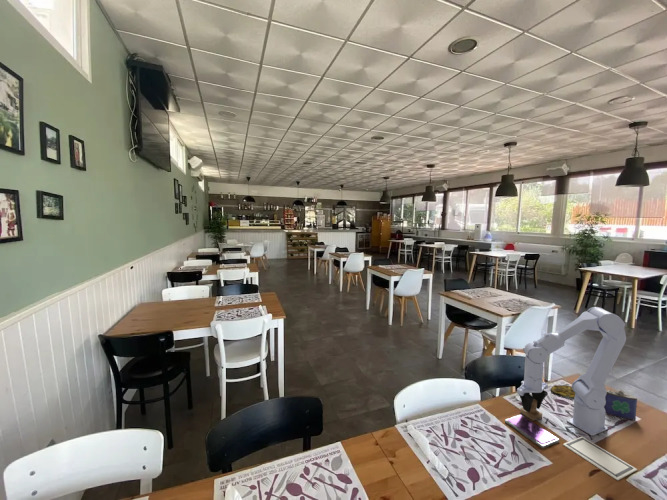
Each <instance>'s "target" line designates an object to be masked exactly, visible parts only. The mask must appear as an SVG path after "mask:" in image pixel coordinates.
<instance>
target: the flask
mask: <svg viewBox="0 0 667 500" xmlns="http://www.w3.org/2000/svg"><path fill="white" fill-rule="evenodd" d="M606 392H607V394H606V396H605V400H606V404H605V406H604V408H605V411H606V414H605V415H607V416H610V417H615V418H618V419H622V418H623V420H627V421H631V422H632V421H634V422H635V421H636V419H637V406H638V398H637V397H636V396H635V395H633V394H632V395H631V394H626V393H625V391H624V390H623V389H619V390H618V391H615V390H613V391H612V389H609V390H607V389H606Z"/></svg>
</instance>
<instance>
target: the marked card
mask: <svg viewBox="0 0 667 500" xmlns="http://www.w3.org/2000/svg"><path fill="white" fill-rule="evenodd" d="M562 445H563V446H564V447H565V448H567V449H568V450H570V451H571V452H573V453H574V454H576V455H577V456H579V457H580V458H582V459H584V460H585V461H587V462H589V463H590V464H592V465H594V466H595V468H598V469H599V470H600V471H602V472H604V473H605V474H606V475H609V476H610V477H611V478H613V479H615V480H616V481H620V480H621V479H624V478H625V477H627V476H630V475H631V474H632V473H633V474H634V473H635V472H636V471H638V468H636V467H635V466H633V465H631V464H629V463H628V462H626V461H624V460H622V459H621V458H620V457H618V456H616V455H614V454H613V453H611V452H609V451H607V450H605V449H604V448H602V447H600V446H599V445H597V444H596V443H594V442H592V441H591V440H589V439H587V438H585V437H584V436H579V437H576V438H574V439H572V440H568V441H567V442H564V443H563V444H562Z"/></svg>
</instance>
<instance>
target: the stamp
mask: <svg viewBox="0 0 667 500" xmlns="http://www.w3.org/2000/svg"><path fill="white" fill-rule="evenodd" d="M519 409H520V410H519V413H520V415H522V416H524V417H525V418H527V419H529V420H530V421H532V422H535V421H537V420H540V418H541V419H542V418H543V413H542V412H541V411H540V410H538V409H537V400H535V399H534V400H533V402H532V405H531V410H530V412H527V411H526V410H524V409H523V407H521V408H519Z"/></svg>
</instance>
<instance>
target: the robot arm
mask: <svg viewBox="0 0 667 500" xmlns="http://www.w3.org/2000/svg"><path fill="white" fill-rule="evenodd" d="M625 327H626V323H625V321H624V320H623V319H622V318H621V317H620V316H619V315H617V314H615V313H612V312H610V311H608V310H605V309H604V308H602V307H600V306H599V307H598V306H593V307H590V308H588V309H587V311H586V310H585V311H584V312H583V311H582V313H581V314H580V315H579V316H578V317H577V318H576V319H574V320H573V321H571V322H569V323H568V324H567V325H566V326H564V327H563V328H561V329H560V330H558V331H557V332H545V333H543V336H542V337H540V338H539V339H537V340H534V341H532V342H529V343H526V345H525V346H524V347H523V350H522V351H523V353H524V355H525V361H524V376H523V380H522V381H521V382H520V383H521V385H520V386H519V387H518V388H517V389H516V394H517V395H518V396H519V398H520V401H521V405H522V408H523V409H524V410H526V411H527V412H530V410H531V405H532V402H533V400H534V399H535V400H537V410H540V408H541V406H542V403H543V401H544V400H545V399H546V397H547V396H548V393H549V392H548V391H546V390H548V387H549V384H548V383H547V382H545V381H543V375H544V362H546V361H547V359H548V356H550V355H551V354H553V353H555V352H556V351H558V350H559V349H561V348H563V347H564V346H565V342H566V341H567V340H569V339H571V338H573V337H575V336H578V335H579V334H581V333H583V332H585V331H597V332H600V334H601V335H602V338H601V340H600V343H599V344H598V347H597V349H596V350H595V353H594V355H593V357H592V359H591V361H590V363H589V365H588V367H587V369H586V372H585V373H583V374H580V375H579V377H578V378H577V379H575V380H574V381H573V382H572V383H571V387H572V389H573V391H574V392H575V397H574V399H573V412H572V418H569V419H566V422H567V423H568V424H570V425H573V426H574V427H576V428H577V429H579V430H581V431H583V432H585V433H586V434H588V435H590V436H595V435H597V434H600V433H602V432H605V431H607V430H608V427H606V426H605V424H606V415H607V414H606V411H605V408H604V406H605V404H606V400H605V396H606V394H607V392H606V390H607V388H606V385H605V384H606V382H607V380H608V377H609V376H610V373H611V372H612V369H614V368H613V367H614V365H615V364H616V361H617V360H618V357H619V356H620V353H621V351H622V349H623V347H624V346H625V344H626V341H627V335H626V330H625Z"/></svg>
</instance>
